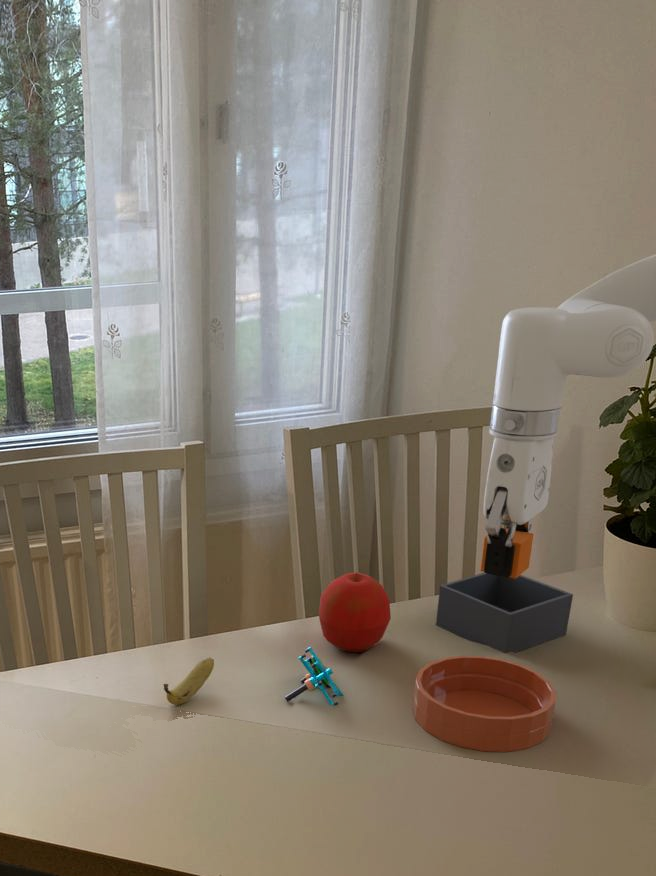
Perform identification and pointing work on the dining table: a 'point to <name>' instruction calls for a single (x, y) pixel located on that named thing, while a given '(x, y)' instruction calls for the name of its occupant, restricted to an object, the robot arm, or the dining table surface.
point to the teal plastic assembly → (315, 678)
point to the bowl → (484, 703)
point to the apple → (354, 612)
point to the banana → (190, 683)
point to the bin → (503, 611)
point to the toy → (516, 552)
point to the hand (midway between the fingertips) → (505, 566)
